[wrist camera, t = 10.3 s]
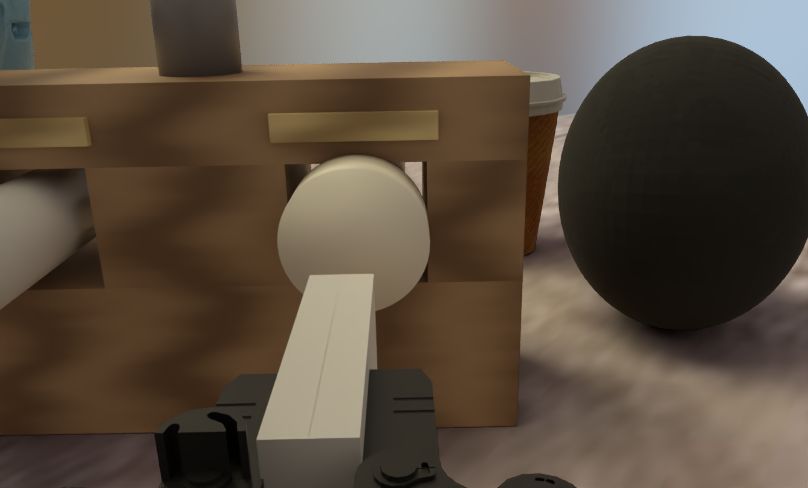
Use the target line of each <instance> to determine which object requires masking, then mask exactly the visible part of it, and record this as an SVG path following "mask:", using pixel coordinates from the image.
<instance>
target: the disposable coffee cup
mask: <svg viewBox="0 0 808 488" xmlns="http://www.w3.org/2000/svg"><path fill="white" fill-rule="evenodd" d="M524 72H525V71H524ZM525 73H527V74H529V75H531V76H530V101H529V127H528V153H527V179H526V205H525V230H524V255H526V254H528V253H530V252H532V251H533V250H534V249H535V247H536V239H537V233H538V228H539V222H540V216H541V211H542V205H543V199H544V195H545V188H546V181H547V176H548V171H549V164H550V160H551V153H552V147H553V142H554V136H555V130H556V125H557V117H558V112H559V111H560V110H561V109H562V104H563V102H564V101H565V100H566V95H565V94H564V93H562V87H561V80H560V76H559V75H555V74H550V73H540V72H525Z"/></svg>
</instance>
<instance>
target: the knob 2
mask: <svg viewBox="0 0 808 488" xmlns="http://www.w3.org/2000/svg"><path fill="white" fill-rule="evenodd" d="M277 246H278V252H279V257H280V260H281V264H282V266H283V268H284V271H285V273H286V274H287V276H288V278H289V279H290V281H291V282H292V283H293V285H294V286H295V287H296V288H297V289H298V290H299V291H300V292H301V293H302V294H303V295H304V291H305V288H306V285H307V282H308V279H309V276H310V275H338V274H374V291H375V311H378V310H381V309H384V308H386V307H388V306H390V305H393V304H394V303H396V302H397V301H399V300H401V299H402V298H403V297H404V296H406V295H407V294H408V293H409V292H410V291H411V290H412V289H413V288H414V286H415V285H416V284H417V282H418V281H419V279H420V278H421V276H422V274H423V272H424V270H425V267H426V265H427V262H428V257H429V252H430V234H429V226H428V217H427V211H426V206H425V203H424V200H423V197H422V195H421V193H420V191H419V189H418V188H417V186H416V185H415V183H414V182H413V181H412V180H411V178H410V177H409V176H408V175H407V174H406V173H405V162H388V161H386V160H383V159H381V158H377V157H374V156H369V155H359V154H353V155H344V156H339V157H335V158H333V159H330V160H327V161H325V162H323V163H321V164H320V165H318V166H317V167H315V168H314V169H312V170H311V171H310V172H309V173H308V174H307V175H306V176H305V177H304V178H303V180H302V181H301V182H300V183H299V185H298V187H297V188H296V190H295V192H294V193H293V195H292V197H291V199H290V200H289V202H288V204H287V206H286V207H285V209H284V212H283V214H282V216H281V219H280V223H279V227H278V235H277Z"/></svg>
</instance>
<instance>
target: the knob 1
mask: <svg viewBox="0 0 808 488" xmlns="http://www.w3.org/2000/svg"><path fill="white" fill-rule="evenodd" d="M95 237H96V233H95V227H94V221H93V215H92V209H91V203H90V198H89V192H88V186H87V180H86V174H85V168H68V169H34V170H32V171H29V172H27V173H25V174H23V175H20V176H18V177H16V178H14V179H11V180H9V181H7V182H5V183H2V184H0V310H1V309H2V308H3V307H5V306H6V305H7V304H8V303H10V302H11V301H12V300H14V299H15V298H16V297H18V296H19V295H20V294H22V293H23V292H24V291H26V290H27V289H28V288H30V287H31V286H32V285H33V284H35V283H36V282H37V281H39V280H40V279H41V278H43V277H44V276H45V275H47V274H48V273H49V272H51V271H52V270H53V269H55V268H56V267H57V266H58V265H60V264H61V263H62V262H64V261H65V260H66V259H68V258H69V257H70V256H72V255H73V254H74V253H76V252H77V251H78V250H80V249H81V248H82V247H84V246H85V245H86V244H87V243H89V242H90V241H91V240H93V239H94V238H95Z"/></svg>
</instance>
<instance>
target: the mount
mask: <svg viewBox="0 0 808 488" xmlns="http://www.w3.org/2000/svg"><path fill="white" fill-rule="evenodd" d="M530 76H531V75H529V74H527V73H525V72H524V71H522V70H520V69H518V68H516V67H514V66H513V65H511V64H509V63H507V62H505V61H503V60H495V61H494V60H493V61H442V62H392V63H343V64H342V63H341V64H296V65H295V64H291V65H242V72H241V73H236V74H230V75H220V76H204V77H165V76H159V71H158V67H140V68H91V69H90V68H89V69H41V70H39V69H38V70H37V69H36V70H0V184H2V183H5V182H7V181H9V180H11V179H14V178H16V177H18V176H20V175H23V174H25V173H27V172H29V171H32V170H34V169H68V168H85V174H86V180H87V186H88V192H89V198H90V203H91V209H92V215H93V221H94V227H95V233H96V237H95V238H94V239H93V240H91V241H90V242H89V243H87V244H86V245H85V246H84V247H82V248H81V249H80V250H78V251H77V252H76V253H74V254H73V255H72V256H70V257H69V258H68V259H66V260H65V261H64V262H62V263H61V264H60V265H58V266H57V267H56V268H55V269H53V270H52V271H51V272H49V273H48V274H47V275H45V276H44V277H43V278H41V279H40V280H39V281H37V282H36V283H35V284H33V285H32V286H31V287H30V288H28V289H27V290H26V291H24V292H23V293H22V294H20V295H19V296H18V297H16V298H15V299H14V300H12V301H11V302H10V303H8V304H7V305H6V306H5V307H3V308H2V309H1V310H0V435H39V434H94V433H150V432H156V431H157V430H158V429H159V428H160V426H161V425H162V424H163V423H165V422H166V421H168V420H170V419H171V418H173V417H175V416H177V415H179V414H182V413H185V412H188V411H191V410H194V409H202V408H210V407H213V408H215V407H216V403H217V401H218V399H219V397H220V395H221V392H222V390H223V388H224V387H225V386H227V385H228V384H229V383H230V382H232V381H233V380H234V379H235V378H236V377H238V376H239V375H240V374H276V373H278V371H279V368H280V365H281V362H282V359H283V356H284V353H285V350H286V347H287V344H288V341H289V338H290V335H291V331H292V328H293V325H294V322H295V319H296V316H297V313H298V310H299V307H300V304H301V301H302V298H303V294H302V293H301V292H300V291H299V290H298V289H297V288H296V287H295V286H294V285H293V283H292V282H291V281H290V279H289V278H288V276H287V274H286V273H285V271H284V268H283V266H282V264H281V260H280V257H279V252H278V246H277V235H278V227H279V223H280V219H281V216H282V214H283V212H284V209H285V207H286V206H287V204H288V202H289V200H290V199H291V197H292V195H293V193H294V192H295V190H296V188H297V187H298V185H299V183H300V182H301V181H302V180H303V178H304V177H305V176H306V175H307V174H308V173H309V172H310V171H311V164H321V163H323V162H325V161H327V160H330V159H333V158H335V157H339V156H344V155H353V154H359V155H369V156H374V157H377V158H381V159H383V160H386V161H388V162H422V196H423V200H424V203H425V206H426V211H427V217H428V226H429V234H430V252H429V257H428V262H427V265H426V267H425V270H424V272H423V274H422V276H421V278H420V279H419V281H418V282H417V284H416V285H415V286H414V288H413V289H412V290H411V291H410V292H409V293H408V294H407V295H406V296H404V297H403V298H402V299H401V300H399V301H397V302H396V303H394V304H393V305H390V306H388V307H386V308H384V309H381V310H378V311H375V318H376V346H377V369H413V368H420V369H421V370H422V371H423V372H424V373H425V374H426V375H427V377H428V378H429V379H430V380H431V381H432V387H433V398H434V408H435V419H436V427H482V426H517V411H518V385H519V359H520V333H521V308H522V282H523V256H524V230H525V205H526V179H527V153H528V127H529V101H530Z"/></svg>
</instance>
